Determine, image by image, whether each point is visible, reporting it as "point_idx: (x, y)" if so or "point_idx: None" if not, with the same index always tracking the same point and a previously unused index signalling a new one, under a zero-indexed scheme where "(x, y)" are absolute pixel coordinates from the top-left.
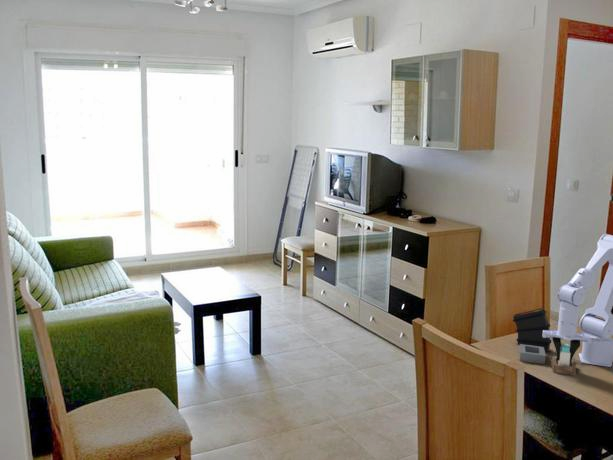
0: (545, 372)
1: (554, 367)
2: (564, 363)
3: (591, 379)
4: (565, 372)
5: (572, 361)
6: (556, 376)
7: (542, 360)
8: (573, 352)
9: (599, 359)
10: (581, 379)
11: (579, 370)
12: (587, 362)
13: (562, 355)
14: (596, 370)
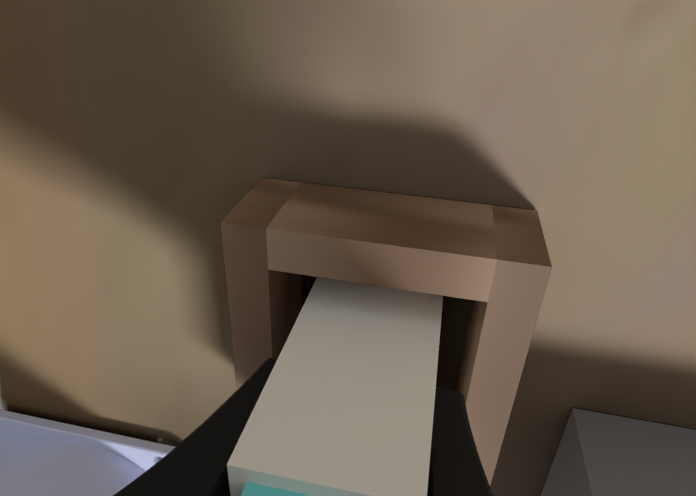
0: (666, 175)
1: (532, 243)
2: (366, 324)
3: (80, 101)
4: (372, 199)
5: None
6: (530, 66)
7: (613, 448)
8: (165, 481)
9: (22, 473)
10: (188, 62)
11: (209, 312)
12: (136, 450)
13: (389, 434)
14: (64, 335)
